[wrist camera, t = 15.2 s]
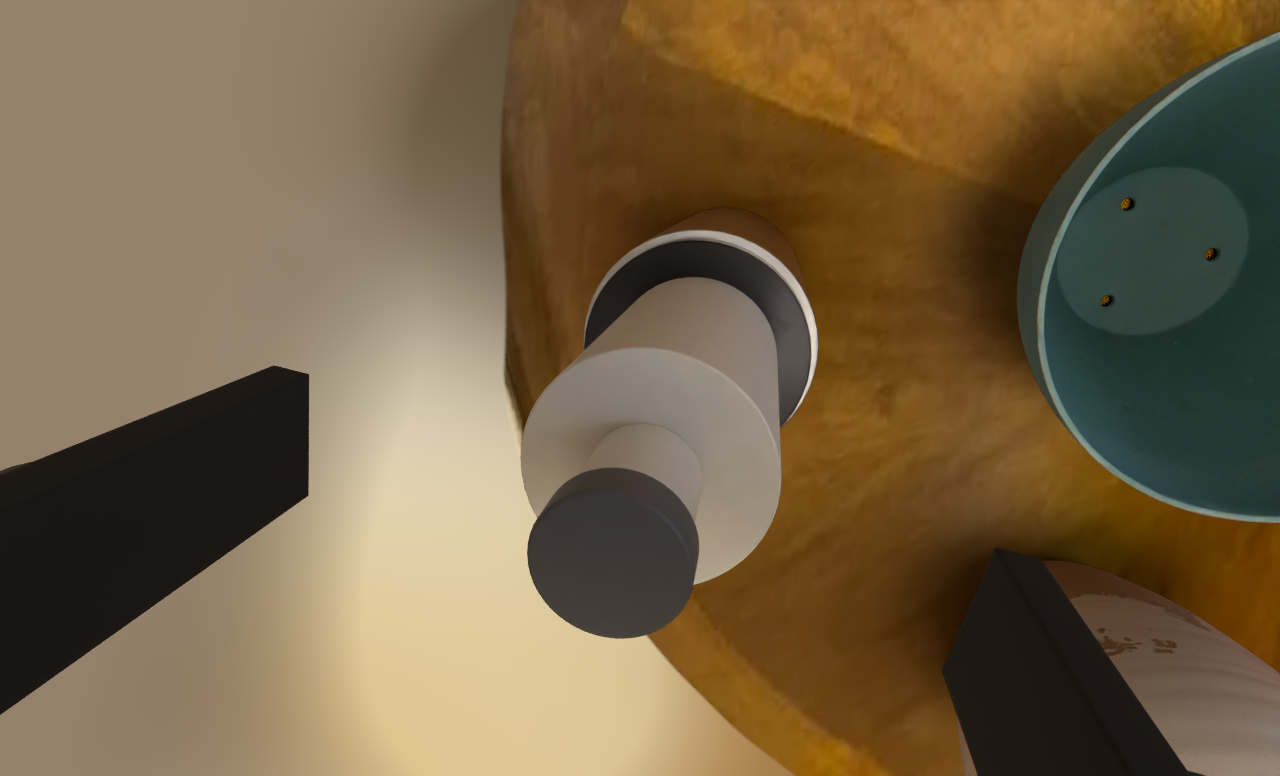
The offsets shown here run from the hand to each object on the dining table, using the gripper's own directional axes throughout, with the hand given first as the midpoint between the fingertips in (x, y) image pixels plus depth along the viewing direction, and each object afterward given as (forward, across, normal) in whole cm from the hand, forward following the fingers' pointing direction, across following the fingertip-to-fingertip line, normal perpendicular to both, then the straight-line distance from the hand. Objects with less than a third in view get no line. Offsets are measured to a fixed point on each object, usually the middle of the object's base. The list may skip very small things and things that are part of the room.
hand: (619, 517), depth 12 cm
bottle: (+12, 0, 0) cm, 13 cm away
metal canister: (+28, 0, 0) cm, 29 cm away
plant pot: (+29, +21, +6) cm, 36 cm away
